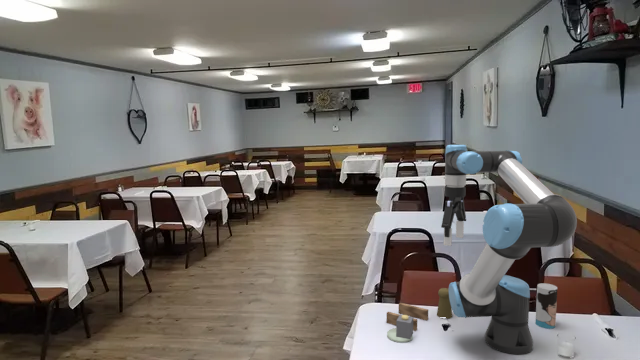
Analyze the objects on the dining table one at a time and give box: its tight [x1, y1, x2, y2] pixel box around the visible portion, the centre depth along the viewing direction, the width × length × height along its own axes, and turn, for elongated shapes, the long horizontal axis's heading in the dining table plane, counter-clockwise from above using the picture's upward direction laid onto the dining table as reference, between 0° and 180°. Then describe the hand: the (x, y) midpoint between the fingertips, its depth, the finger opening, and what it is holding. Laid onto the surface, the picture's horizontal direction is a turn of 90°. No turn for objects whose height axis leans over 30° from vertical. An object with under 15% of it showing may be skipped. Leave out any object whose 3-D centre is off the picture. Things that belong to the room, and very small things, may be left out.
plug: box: [395, 314, 414, 339], centre depth 152 cm, size 5×5×7 cm
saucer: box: [386, 327, 414, 344], centre depth 153 cm, size 9×9×1 cm
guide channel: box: [386, 302, 429, 332], centre depth 165 cm, size 12×12×4 cm
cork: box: [436, 287, 453, 320], centre depth 169 cm, size 6×6×11 cm
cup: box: [534, 283, 558, 330], centre depth 160 cm, size 7×7×15 cm
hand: (453, 241), depth 161 cm, fingers open, 13 cm apart
